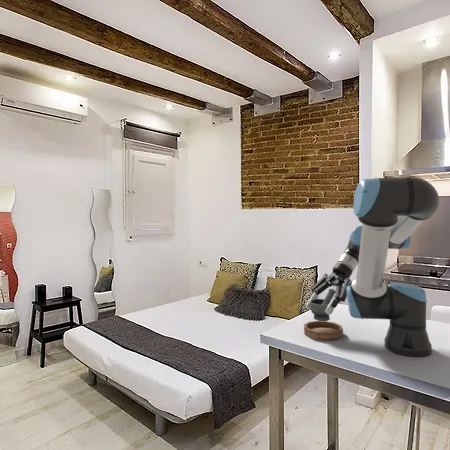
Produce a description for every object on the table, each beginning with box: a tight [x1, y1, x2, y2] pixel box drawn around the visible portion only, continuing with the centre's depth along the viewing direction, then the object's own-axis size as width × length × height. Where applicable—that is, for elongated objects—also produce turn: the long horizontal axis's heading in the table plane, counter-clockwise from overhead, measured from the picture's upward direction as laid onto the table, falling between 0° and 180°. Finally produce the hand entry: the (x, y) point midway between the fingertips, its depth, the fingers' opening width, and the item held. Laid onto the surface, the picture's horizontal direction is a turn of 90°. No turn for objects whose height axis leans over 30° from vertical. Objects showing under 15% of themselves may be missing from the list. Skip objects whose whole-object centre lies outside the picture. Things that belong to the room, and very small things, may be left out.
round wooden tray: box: [303, 320, 344, 342], centre depth 143 cm, size 15×15×3 cm
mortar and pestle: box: [308, 288, 336, 322], centre depth 143 cm, size 11×9×12 cm
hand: (317, 310), depth 142 cm, fingers closed on mortar and pestle, 10 cm apart
